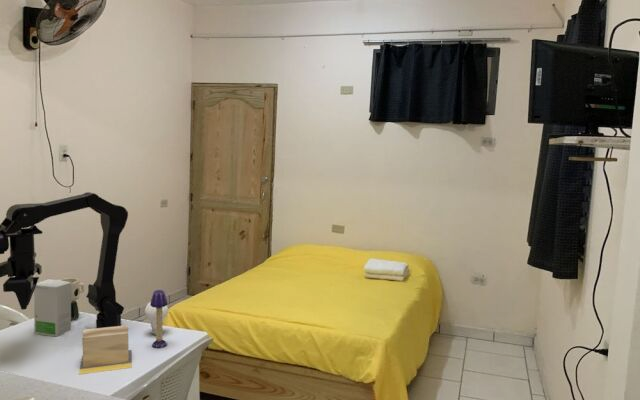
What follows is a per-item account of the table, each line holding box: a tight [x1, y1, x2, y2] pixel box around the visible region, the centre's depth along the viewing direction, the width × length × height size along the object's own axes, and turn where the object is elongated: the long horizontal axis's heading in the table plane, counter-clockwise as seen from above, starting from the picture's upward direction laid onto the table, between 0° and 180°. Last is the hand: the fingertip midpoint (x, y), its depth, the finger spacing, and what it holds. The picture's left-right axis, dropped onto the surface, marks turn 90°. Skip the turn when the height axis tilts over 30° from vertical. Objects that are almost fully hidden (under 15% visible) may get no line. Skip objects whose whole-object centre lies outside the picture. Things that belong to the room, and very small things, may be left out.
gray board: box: [78, 349, 133, 375], centre depth 134 cm, size 12×13×1 cm
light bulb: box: [144, 301, 169, 336], centre depth 153 cm, size 7×7×11 cm
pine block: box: [81, 324, 130, 368], centre depth 135 cm, size 6×11×8 cm, turn 111°
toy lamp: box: [150, 289, 168, 350], centre depth 144 cm, size 5×5×17 cm
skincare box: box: [33, 278, 72, 338], centre depth 154 cm, size 8×7×16 cm
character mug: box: [58, 277, 85, 321], centre depth 164 cm, size 11×7×13 cm, turn 142°
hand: (25, 307), depth 138 cm, fingers open, 3 cm apart
